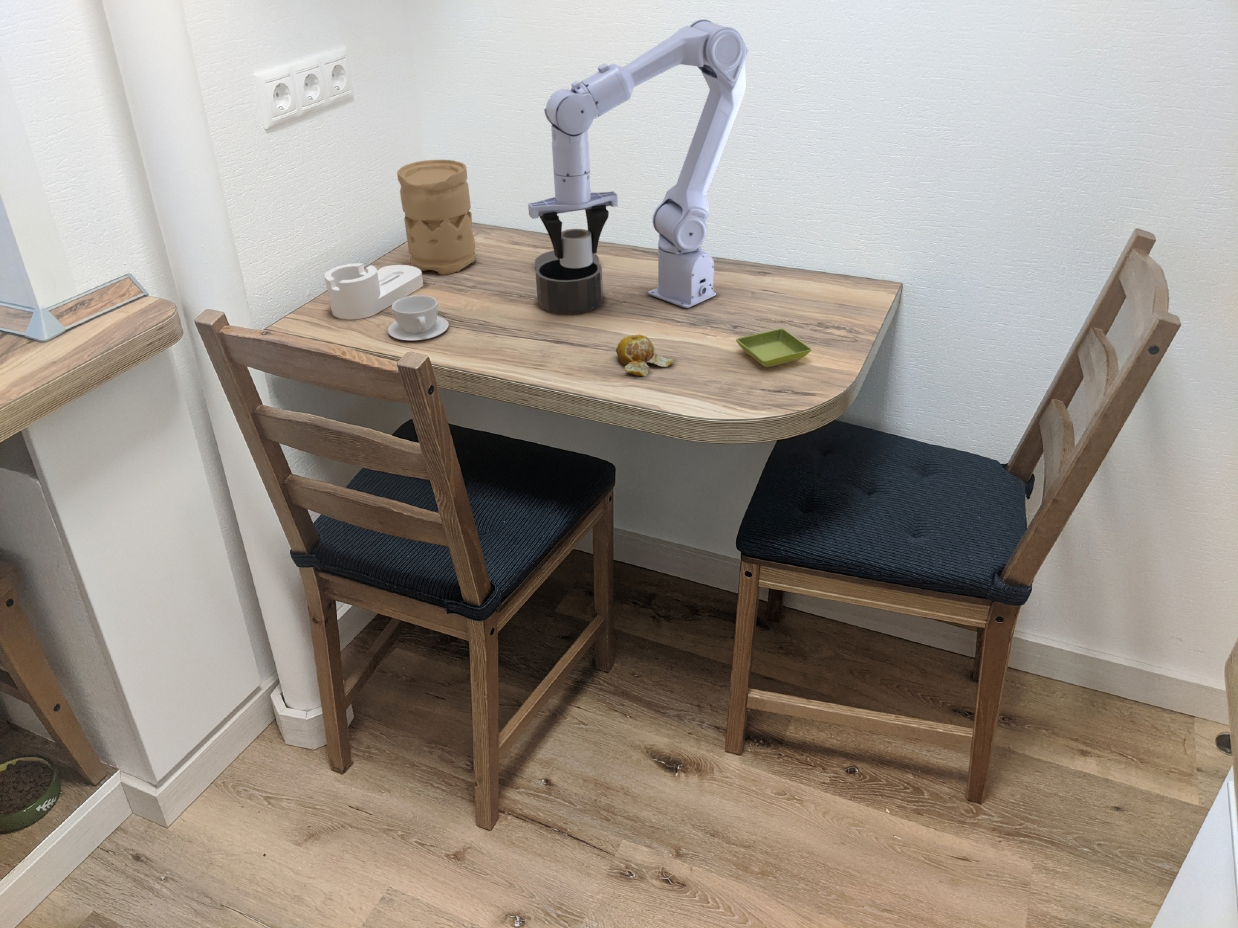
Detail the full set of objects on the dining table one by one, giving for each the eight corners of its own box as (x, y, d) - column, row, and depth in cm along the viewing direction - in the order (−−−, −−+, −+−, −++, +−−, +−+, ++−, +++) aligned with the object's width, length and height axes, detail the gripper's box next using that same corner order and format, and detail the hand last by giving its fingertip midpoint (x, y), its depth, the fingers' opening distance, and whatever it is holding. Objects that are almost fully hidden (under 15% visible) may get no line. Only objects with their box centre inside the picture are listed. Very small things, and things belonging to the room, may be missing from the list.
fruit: (633, 380, 143) (633, 357, 141) (602, 360, 148) (601, 338, 146) (677, 364, 146) (677, 342, 144) (645, 345, 152) (645, 324, 150)
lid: (612, 264, 182) (611, 241, 179) (564, 283, 175) (563, 259, 172) (569, 249, 189) (568, 227, 187) (522, 266, 182) (520, 243, 180)
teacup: (382, 324, 162) (378, 298, 159) (440, 313, 165) (436, 287, 162) (395, 347, 154) (391, 321, 151) (455, 335, 157) (452, 309, 154)
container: (471, 274, 179) (460, 178, 170) (405, 275, 180) (390, 180, 170) (480, 250, 190) (470, 158, 180) (417, 251, 190) (404, 160, 180)
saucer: (762, 373, 143) (763, 361, 142) (733, 350, 150) (734, 338, 149) (812, 361, 146) (813, 349, 145) (781, 339, 153) (782, 327, 152)
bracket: (360, 323, 162) (353, 286, 159) (321, 314, 166) (313, 278, 162) (431, 281, 177) (426, 246, 173) (393, 274, 180) (388, 240, 177)
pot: (616, 300, 168) (615, 268, 164) (567, 320, 161) (565, 287, 158) (572, 283, 174) (570, 252, 171) (524, 302, 168) (521, 270, 165)
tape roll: (599, 261, 159) (598, 233, 156) (575, 271, 156) (573, 242, 153) (577, 254, 162) (575, 226, 159) (553, 262, 159) (551, 234, 156)
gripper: (606, 159, 156) (608, 239, 163) (520, 170, 152) (527, 252, 159) (621, 170, 150) (623, 253, 158) (533, 182, 146) (539, 267, 154)
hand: (576, 254), depth 158 cm, fingers closed on tape roll, 5 cm apart
